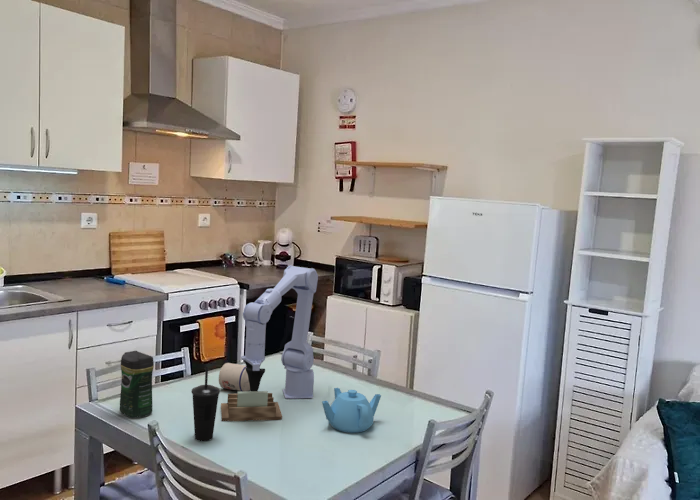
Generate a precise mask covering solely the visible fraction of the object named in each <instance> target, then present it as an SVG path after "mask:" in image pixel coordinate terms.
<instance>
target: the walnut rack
mask: <svg viewBox="0 0 700 500" xmlns="http://www.w3.org/2000/svg"><path fill="white" fill-rule="evenodd" d="M274 399H275V398H274V397H273V393H272V392H268V402H267V407H237V393H228V394H227V402H222V403H221V404H220V412H221V413H220V417H221V422H242V421H243V422H246V421H247V422H249V421H248V420H253V421H281V420H282V421H283V414H282V410H281V408H280V405H279V402H278V401H275V400H274ZM245 420H246V421H245Z"/></svg>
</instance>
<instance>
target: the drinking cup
mask: <svg viewBox="0 0 700 500" xmlns="http://www.w3.org/2000/svg"><path fill="white" fill-rule="evenodd" d="M204 372H205V373H204V384H201V385H198V386H195V387H193V388H192V389H191V390H190V391H191V392H190V393H191V394H192V407H193V413H192V414H193V427H194V429H193V430H194V431H193V432H194V439H195V440H196V441H199V442H208V441H211V440H213V438H214V437H213V436H214V432H215V423H216V418H217V417H216V415H217V409H218V402H219V401H218V400H219V395H220V392H221V389H220V388H219V387H218V386H214V385H211V384H208V382H209V381H208V378H209V377H208V376H209V375H208V374H209V367H207V366H206V367H205V371H204Z"/></svg>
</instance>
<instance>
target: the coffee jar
mask: <svg viewBox="0 0 700 500" xmlns="http://www.w3.org/2000/svg"><path fill="white" fill-rule="evenodd" d="M154 363H155V362H154V357H153V356H152V355H148V354H146V353H144V352H141V351H138V350H131V351H127V352H124V353H123V354H121V357H120V370H121V373H120V374H121V386H120V396H119V397H120V399H119V412H120V413H121V414H122V415H123V416H126V417H128V418H131V419H135V418H145V417H147V416H149V415H151V414H152V413H153V373H154V366H155V365H154Z"/></svg>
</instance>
